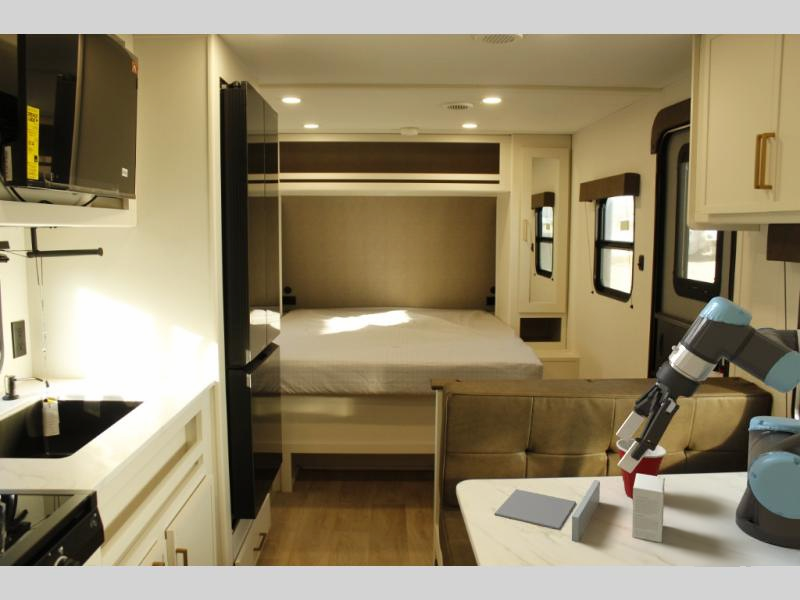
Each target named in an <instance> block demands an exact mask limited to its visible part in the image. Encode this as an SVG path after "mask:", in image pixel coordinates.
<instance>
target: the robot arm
mask: <svg viewBox="0 0 800 600" xmlns="http://www.w3.org/2000/svg"><path fill="white" fill-rule="evenodd" d="M752 319H753V315H752V313H751V312H749V311H748V310H747V309H746V308H744V307H742V306H740V305H739V304H737V303H735V302H733V301H731V300H730V299H728V298H725V297H724V296H723V297H722V296H715V297H713V298H711V300H710V301H709V302H708V303H707V304H706V306H704V308H703V309H702V310H701V312H700V313H699V314H698V316H697V317H696V318H695V320H694V321H693V323H692V324H691V325H690V327H689V328H688V329H687V330H686V332H685V334H684V335H683V337H682V339H681V340H680V341H679V342H678V344H677V345H673V346H672V347H671V349H672V352H671V354H669V356H668V360H665V361H664V362H663V363H662V365H661V366H660V368H659V369H658V370H657V372H656V374H655V375H656V380H655V382H654V383H653V384H652V385H651V386H650V387H648V389H647V390H646V391H645V392H643V394H641V396H640V397H638V399H636V401H634V402H635V403H634V405H635V406H634V407H633V410H632V412H631V413H630V414H629V415H628V417H627V418H626V419H625V421H624V422H623V423H622V425H621V426H620V428H619V429H618V430H617V431H616V433H615V435H616V437H618V438H620V440H621V439H623V440H625V441H626V442H628V441H629V439H632V437H633V435H634V434H635V433H636V431H637V430H638V429H639V428H640V426H641V425H642V423H644V421H645V419H647V421H646V423H645V425H644V428H643V430H642V432H641V434H640V435H639V437H634V439H635V442H634V443H633V444H632V446H631V447H630V448H629V450H628V451H627V452H626V454H625V455H624V456H623V458H622V459H621V460H620V459H619V462H618V463H617V466H618V467H619V468H622V469H624V470H626V471H627V472H629V473H631V472H632V471H633V470H634V468H635V467H636V466H637V464H638V463H639V462H640V461H641V459H642V458H643V457H644V455H645V454H646V453H647V452H648V450H649V449H650V450H652V451H654V450H655V449H656V447H657V445H659V443H660V442H661V440H662V438H663V436H664V434H665V433H666V430H667V428H668V427H669V425H670V423H671V421H672V420H673V417H674V416H675V415H676V413H677V412H678V411H679V410H680V405H679V404H677V403H678V402H677V400H678V399H679V397H684V398H689V399H690V398H692V397H693V396H694V395H695V393H696V392H697V391H698V389H699V388H700V387H701V385H702V382H703V381H706V380H707V378H708V377H709V376H710V374H711V373H712V372H713V371H714V369H715V368H716V366H717V365H718V363H719V362H720V360H721V359H725V360H726V361H727V362H729V363H731V364H733V365H735V366H736V367H738V368H739V369H741V370H742V371H744V372H745V373H747V374H749V375H750V376H752V377H754V378H755V379H756V380H758V381H760V382H762V383H763V384H764V385H765V386H767V387H770V388H771V389H775V390H776V391H777V392H779V393H783V394H787V393H789V392H791V391H792V390H794V389H795V388H796V387H797V386H798V385H799V384H800V329H776V328H773V327H771V326H770V327H769V326H768V327H767V326H763V327H758V328H755V327H753V326H752V325H751V321H752ZM748 432H749V434H748V450H747V451H748V453H747V454H748V455H747V456H748V457H747V475H746V477H747V481H746V488H745V489H744V492H743V494H742V497H741V498H740V501H739V503H738V505H737V507H736V511H735V524H736V526H737V527H738V528H739V529H740V530H741V531H742V532H744V533H746V534H747V535H748V536H751V537H752V538H755V539H758V540H760V541H761V542H762V541H763V542H766V543H768V544H772V545H775V546H779V547H780V546H781V547H786V548H793V549H794V548H796V549H800V419H796V418H791V417H783V416H769V415H761V416H760V415H758V416H754V417H752V418H751V419H750V422H749V428H748ZM622 469H621V470H622Z"/></svg>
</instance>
